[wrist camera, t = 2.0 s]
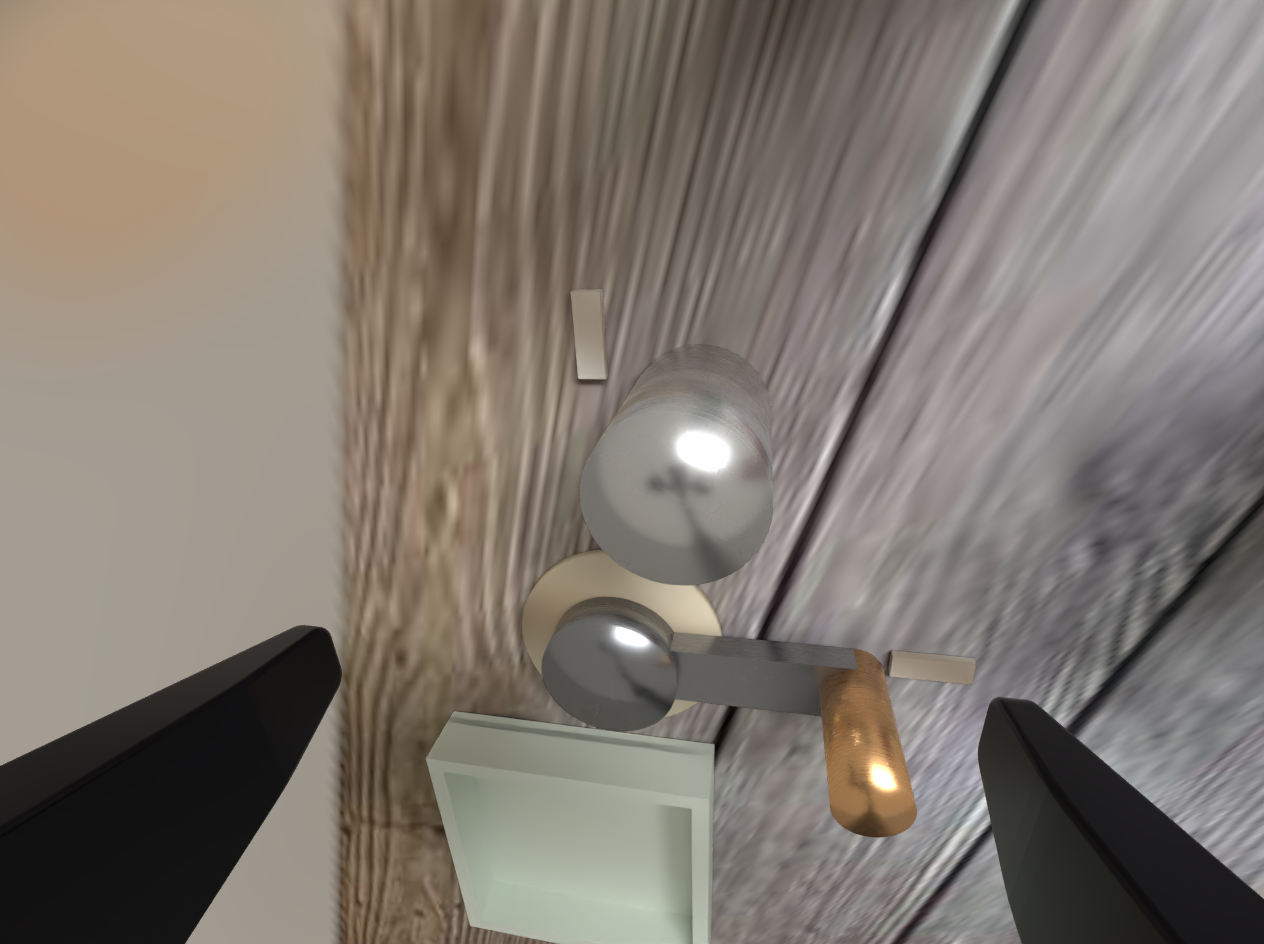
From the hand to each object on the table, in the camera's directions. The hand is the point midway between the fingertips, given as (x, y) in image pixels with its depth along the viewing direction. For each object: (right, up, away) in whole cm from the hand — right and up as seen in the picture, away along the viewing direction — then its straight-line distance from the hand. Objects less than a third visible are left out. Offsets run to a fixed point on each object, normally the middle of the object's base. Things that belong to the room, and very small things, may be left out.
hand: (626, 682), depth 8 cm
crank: (+3, -3, +12) cm, 13 cm away
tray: (-2, -12, +18) cm, 21 cm away
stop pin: (+2, +4, +9) cm, 10 cm away
